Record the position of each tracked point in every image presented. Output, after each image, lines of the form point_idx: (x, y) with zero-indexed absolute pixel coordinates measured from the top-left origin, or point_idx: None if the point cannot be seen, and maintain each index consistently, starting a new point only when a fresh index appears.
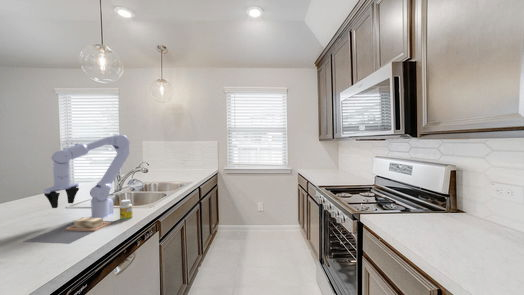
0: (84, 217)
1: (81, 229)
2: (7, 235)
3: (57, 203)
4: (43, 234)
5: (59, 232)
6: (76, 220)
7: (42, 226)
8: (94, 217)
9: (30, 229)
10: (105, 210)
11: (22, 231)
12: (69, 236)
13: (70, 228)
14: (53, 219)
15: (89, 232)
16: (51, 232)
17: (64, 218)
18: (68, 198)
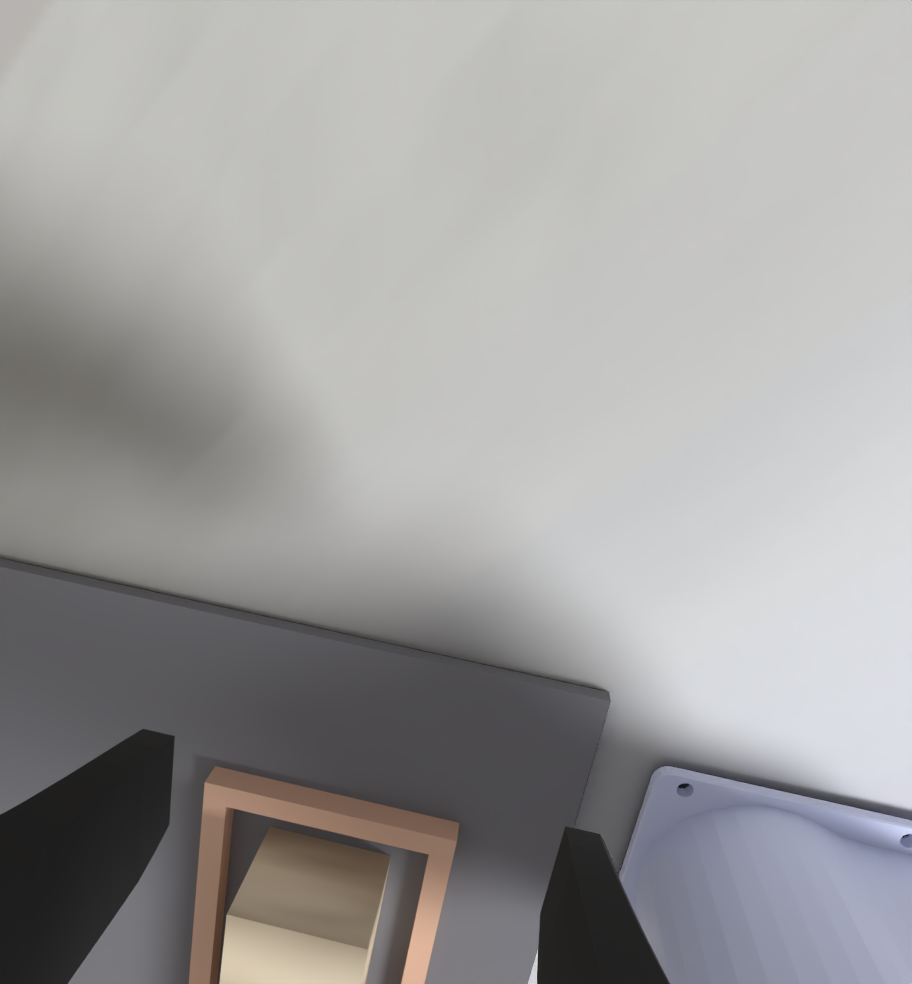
0: (360, 967)
1: (193, 944)
2: (59, 54)
3: (88, 935)
4: (79, 607)
5: None
6: (236, 934)
7: (422, 286)
8: (639, 883)
9: (296, 199)
10: None
11: (215, 143)
12: None
13: (204, 834)
14: (814, 157)
15: None
16: (141, 655)
17: (829, 345)
18: (581, 957)
